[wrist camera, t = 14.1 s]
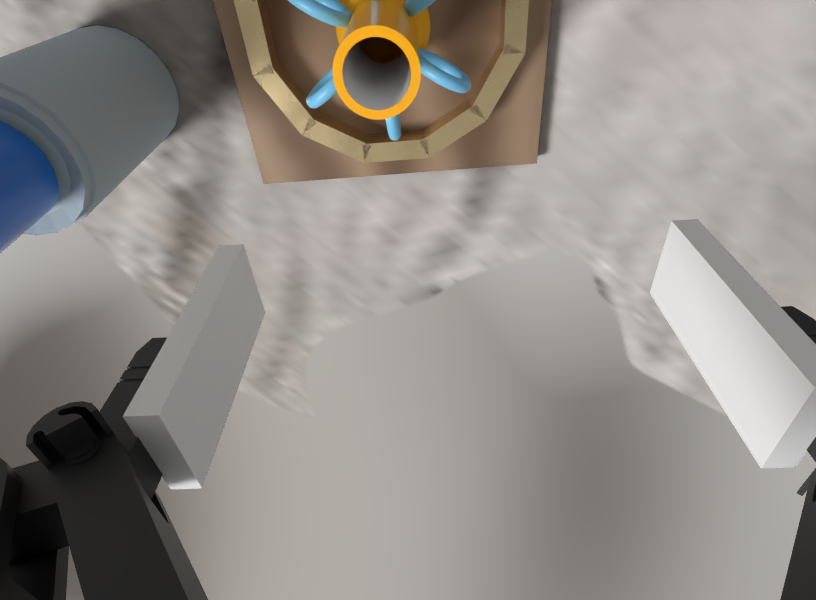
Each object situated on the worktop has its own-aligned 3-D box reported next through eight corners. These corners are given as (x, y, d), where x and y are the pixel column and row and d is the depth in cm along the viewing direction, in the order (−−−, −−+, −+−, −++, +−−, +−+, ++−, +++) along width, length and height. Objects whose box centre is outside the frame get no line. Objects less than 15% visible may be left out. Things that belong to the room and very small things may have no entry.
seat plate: (568, -238, 27) (574, -244, 26) (533, 157, 42) (536, 163, 41) (165, -196, 28) (157, -200, 27) (266, 177, 43) (263, 183, 42)
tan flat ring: (534, -188, 28) (542, -194, 26) (514, 141, 40) (518, 151, 38) (204, -155, 28) (193, -158, 27) (281, 159, 40) (276, 169, 39)
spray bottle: (192, 146, 41) (2, 366, 21) (84, 146, 41) (-209, 366, 21) (160, 25, 35) (-140, 171, 16) (34, 24, 35) (-427, 170, 16)
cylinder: (286, -83, 31) (215, -77, 19) (453, -108, 30) (488, -119, 18) (329, 115, 38) (298, 207, 26) (463, 98, 37) (492, 185, 26)
